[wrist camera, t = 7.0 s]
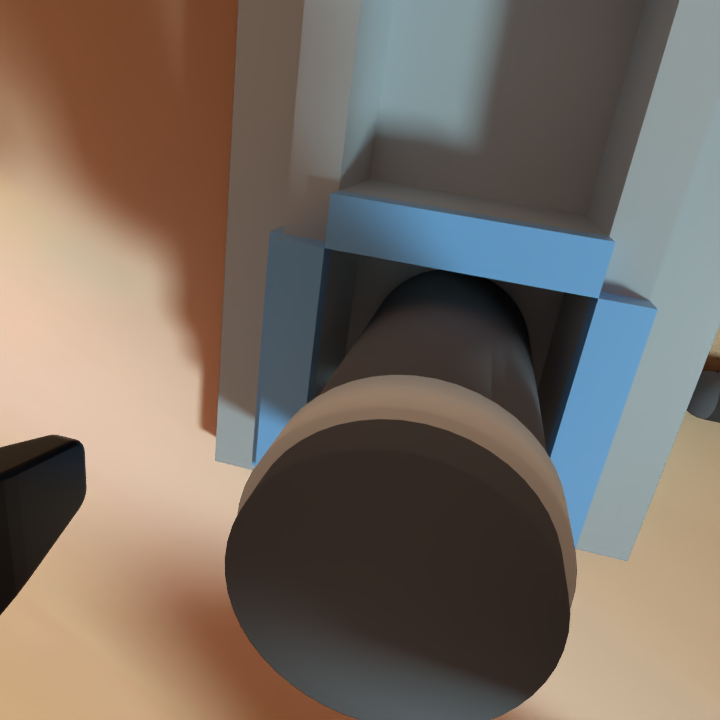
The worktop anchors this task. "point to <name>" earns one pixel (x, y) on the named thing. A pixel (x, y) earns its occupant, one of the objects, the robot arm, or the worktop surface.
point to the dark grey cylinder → (412, 519)
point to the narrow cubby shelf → (482, 211)
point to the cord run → (706, 397)
